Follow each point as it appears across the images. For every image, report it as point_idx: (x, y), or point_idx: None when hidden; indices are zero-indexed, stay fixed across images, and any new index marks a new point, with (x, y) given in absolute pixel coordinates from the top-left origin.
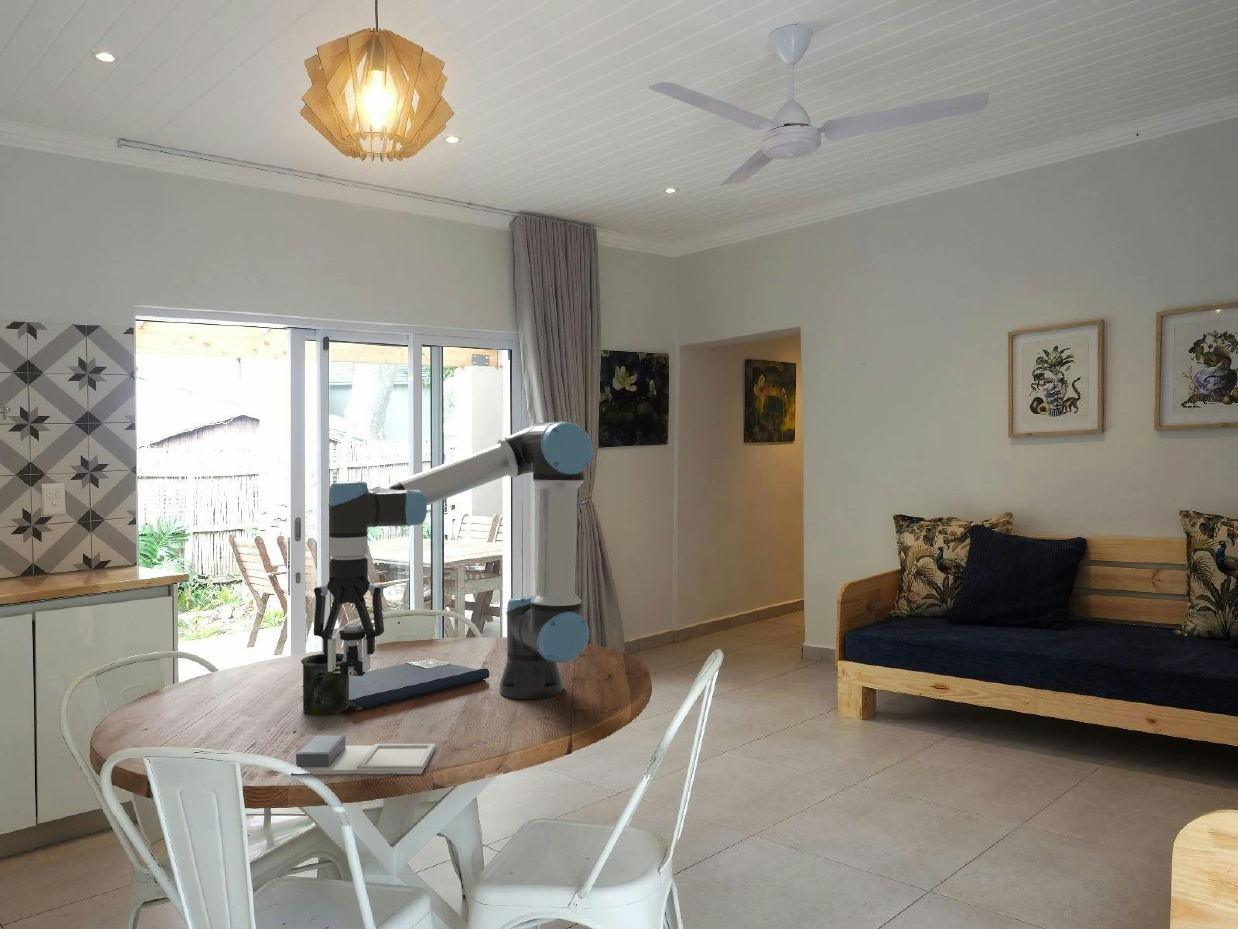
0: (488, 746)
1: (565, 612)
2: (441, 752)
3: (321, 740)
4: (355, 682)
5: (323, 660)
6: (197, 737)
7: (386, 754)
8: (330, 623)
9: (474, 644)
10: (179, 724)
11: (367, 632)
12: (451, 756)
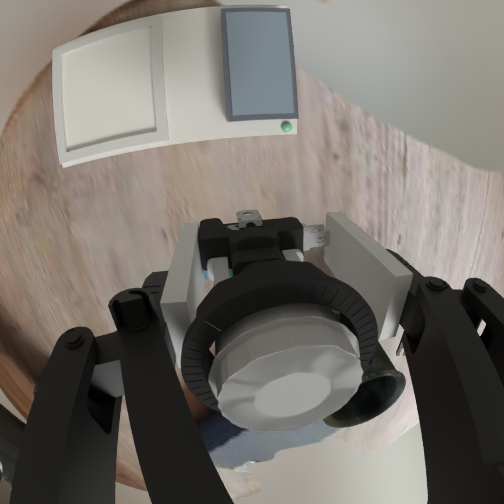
0: (9, 200)
1: None
2: (53, 154)
3: (269, 80)
4: (319, 424)
5: (368, 408)
6: (467, 203)
7: (129, 97)
8: (461, 345)
9: (231, 491)
10: (483, 254)
11: (145, 343)
12: (35, 139)
